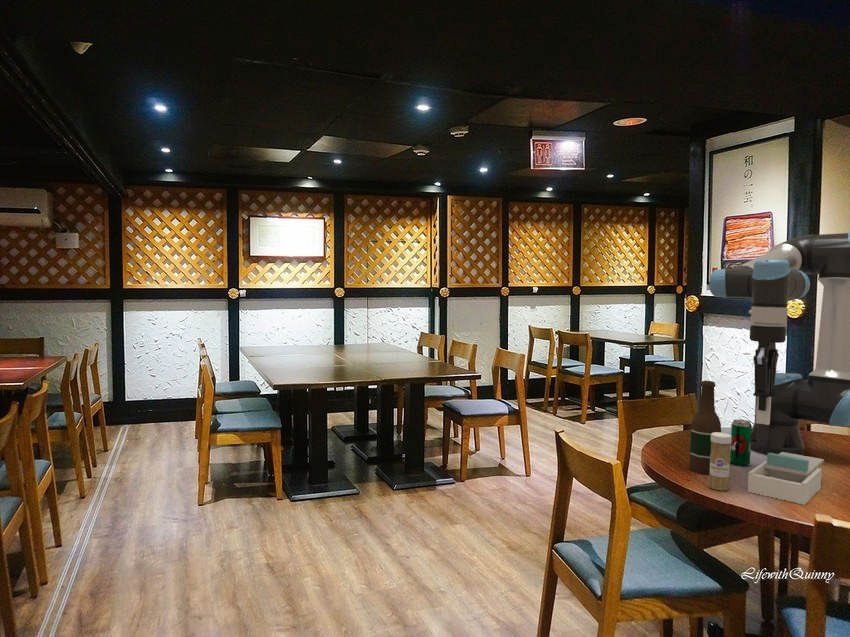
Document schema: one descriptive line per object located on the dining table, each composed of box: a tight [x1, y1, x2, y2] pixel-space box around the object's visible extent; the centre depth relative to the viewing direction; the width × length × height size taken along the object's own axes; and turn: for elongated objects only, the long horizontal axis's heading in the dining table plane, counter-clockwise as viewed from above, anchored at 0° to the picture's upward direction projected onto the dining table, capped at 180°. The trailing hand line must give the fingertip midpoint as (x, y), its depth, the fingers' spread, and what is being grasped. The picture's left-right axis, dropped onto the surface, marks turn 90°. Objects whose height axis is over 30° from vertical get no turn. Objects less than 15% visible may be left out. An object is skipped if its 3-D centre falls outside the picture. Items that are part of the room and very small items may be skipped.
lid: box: [764, 452, 825, 476], centre depth 159 cm, size 16×10×3 cm, turn 137°
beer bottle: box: [689, 380, 722, 476], centre depth 168 cm, size 8×8×24 cm
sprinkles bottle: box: [708, 432, 732, 492], centre depth 154 cm, size 5×5×14 cm
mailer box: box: [747, 459, 823, 506], centre depth 153 cm, size 16×12×5 cm
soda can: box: [730, 418, 753, 467], centre depth 175 cm, size 5×5×12 cm
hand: (762, 423), depth 151 cm, fingers closed
